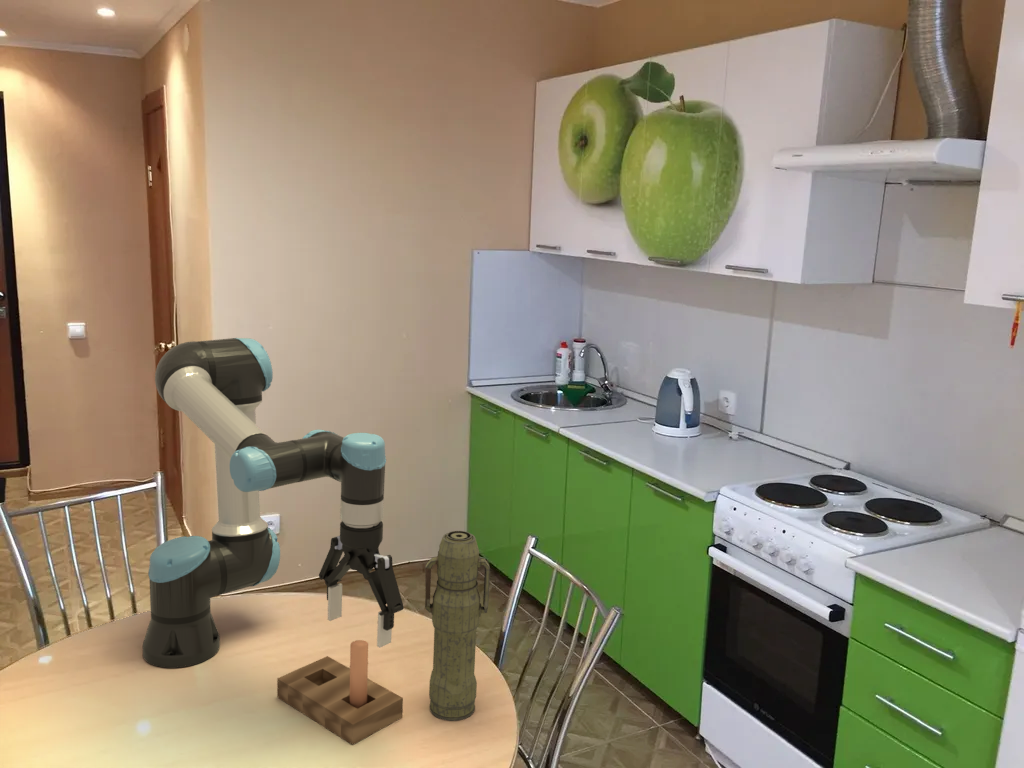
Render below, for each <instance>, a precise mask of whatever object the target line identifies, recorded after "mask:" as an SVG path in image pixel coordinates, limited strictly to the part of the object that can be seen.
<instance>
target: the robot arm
mask: <svg viewBox="0 0 1024 768" xmlns="http://www.w3.org/2000/svg"><path fill="white" fill-rule="evenodd" d="M154 373H155V374H154V383H155V387H156V390H157V393H158V395H159V396H160V398H161V399H162V400H163V402H165V404H167V406H168V407H170V408H171V409H173V410H175V411H178V412H181V413H183V414H184V415H185V416H186V417H187V418H188V419H189V420H190V421H191V422H193V424H194V425H195V426H196V427H197V428H198V429H199V430H201V432H202V433H203V434H204V435H206V437H207V438H208V439H209V440H210V441H211V442H212V443H213V444H214V455H215V473H216V491H217V494H216V495H217V514H218V520H217V522H216V523H215V524H214V525H213V526H212V527H211V540H208V539H207V538H206V537H204V536H201V535H190V536H187V535H186V536H179V537H175V538H171V539H169V540H167V541H165V542H163V543H161V544H159V545H158V546H156V547H155V548H154V550H153V551H152V552H151V553H150V556H149V567H148V571H147V572H148V578H149V581H148V582H149V596H150V597H149V599H150V600H149V601H150V605H149V606H150V621H149V624H148V626H147V631H146V632H145V637H144V640H143V642H142V657H143V659H144V661H146V662H147V664H148V663H149V664H150V665H152V666H155V667H160V668H166V669H168V668H170V669H172V668H173V669H174V668H175V669H176V668H186V667H190V666H194V665H198V664H200V663H203V662H205V661H208V660H210V659H211V658H212V657H214V656H215V655H216V654H217V653H218V651H220V647H221V646H220V645H221V644H220V643H221V641H220V632H219V631H218V628H217V625H216V623H215V620H214V618H213V615H212V612H211V599H212V598H215V597H217V596H221V595H224V594H228V593H231V592H235V591H238V590H243V589H246V588H249V587H250V588H251V587H255V586H257V585H259V584H261V583H265V582H267V581H269V580H270V579H272V578H273V576H275V574H276V573H277V570H278V569H279V566H280V561H281V546H280V542H278V536H277V534H276V533H275V531H274V530H272V529H271V528H270V527H269V524H268V522H267V521H265V520H264V519H263V518H262V517H261V505H260V492H264V491H266V490H269V489H274V488H278V487H283V486H287V485H292V484H296V483H303V482H305V481H306V482H307V481H312V480H317V479H321V478H326V477H327V478H330V479H333V480H335V481H337V482H339V483H340V506H339V507H340V509H339V510H340V511H339V519H340V520H341V521H340V523H339V535H337V536H334V537H332V538H331V539H330V547H329V550H328V552H327V554H326V558H325V559H324V562H323V564H322V567H321V568H320V571H319V573H318V578H319V579H320V580H323V581H324V584H325V586H326V600H327V620H328V621H330V622H331V621H334V620H337V619H338V618H339V619H340V618H342V616H343V612H342V611H343V609H342V608H343V583H340V582H342V581H343V577H345V575H346V574H347V573H348V572H349V570H353V571H357V572H358V573H359V574H361V575H362V576H363V579H365V580H367V583H368V585H370V588H371V590H372V593H373V595H374V597H375V599H376V602H377V604H378V606H379V608H380V611H378V612H377V629H376V631H377V634H376V635H377V637H376V646H377V648H380V649H381V648H383V647H385V646H387V645H389V644H391V643H392V629H393V628H394V626H395V614H396V613H398V612H402V611H403V610H404V608H405V607H404V603H403V600H402V596H401V593H400V589H399V585H398V582H397V578H396V575H395V572H394V568H393V567H394V565H393V556H392V555H391V554H386V555H381V554H380V550H379V549H380V548H379V547H380V545H381V544H382V542H383V539H384V538H383V537H384V535H383V534H384V523H383V520H384V519H383V518H384V503H385V502H384V501H385V498H384V496H385V481H386V480H385V478H386V474H385V473H386V472H385V471H386V463H387V457H386V443H385V440H384V438H383V437H382V436H380V435H378V434H375V433H369V432H353V433H349V434H347V435H346V436H341V435H340V434H338V433H335V432H332V431H330V430H323V429H314V430H311V431H309V432H308V433H306V434H305V435H304V436H303V437H302V438H300V439H299V438H298V439H292V440H286V441H280V442H275V440H274V439H272V438H271V437H270V436H269V435H267V433H265V431H264V430H262V429H261V428H260V427H259V426H258V425H257V419H256V417H257V416H256V409H257V408H258V406H260V405H261V403H262V402H263V392H265V391H266V390H269V388H270V387H271V385H272V382H273V376H274V375H273V374H274V373H273V366H272V362H271V358H270V356H269V353H267V350H266V349H265V348H264V346H263V345H262V344H261V343H260V342H259V341H257V340H256V339H253V338H248V337H246V338H245V337H244V338H242V337H241V338H239V337H231V338H230V337H229V338H221V339H220V338H219V339H210V340H201V341H193V340H192V341H186V342H183V343H179V344H177V345H174V346H173V347H171V348H169V350H168V351H166V352H165V353H164V354H163V356H161V358H160V359H159V362H158V363H157V366H156V369H155V372H154ZM343 554H344V555H343ZM342 555H343V557H342ZM341 557H342V558H341ZM372 570H373V571H372Z"/></svg>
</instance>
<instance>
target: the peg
mask: <svg viewBox="0 0 1024 768" xmlns="http://www.w3.org/2000/svg"><path fill="white" fill-rule="evenodd" d="M349 651H350V655H349V656H350V659H349V661H350V662H349V668H350V705H352V706H353V707H355V708H357V709H358V708H360V707H362V706H364V705H366V704H367V682H368V679H369V678H368V677H369V676H368V675H369V671H368V670H369V642H368V641H366V640H363V639H357V640H354V641H351V642H350V650H349Z"/></svg>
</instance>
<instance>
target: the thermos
mask: <svg viewBox="0 0 1024 768" xmlns="http://www.w3.org/2000/svg"><path fill="white" fill-rule="evenodd" d="M438 546H439V549H438V551H437V556H435V557H431V558H430V559H429V560H428V562H427V563H426V565H425V568H424V569H425V574H424V575H425V578H424V579H425V585H424V586H425V587H424V588H425V589H424V590H425V595H424V597H425V598H424V599H425V600H424V609H425V610H426V611H427V612H428V613H430V614H431V618H432V619H431V622H432V625H433V629H434V630H433V631H434V632H433V633H434V634H433V655H432V657H433V658H432V659H433V660H432V662H433V663H432V664H433V665H432V670H431V674H430V677H429V686H428V688H429V690H428V691H429V693H428V696H429V700H430V701H429V712H430V713H431V714H432V715H433V716H434V717H435V718H437V719H439V720H443V721H449V722H457V721H462V720H466V719H467V718H469V717H471V716H472V715H473V714H474V713H475V709H476V705H475V704H476V703H475V701H476V698H477V687H478V686H477V685H478V683H477V679H476V675H475V669H476V668H475V667H476V665H475V663H476V646H477V645H476V644H477V642H476V641H477V639H476V638H477V629H478V627H479V625H480V617H481V616H482V614H487V613H488V608H489V599H490V598H489V597H490V577H491V576H490V575H491V567H490V564H489V563H488V561H487V559H486V558H484V557H483V558H482V557H481V556H480V549H479V545H478V542H477V538H476V536H475V535H474V534H473V533H470V532H468V531H464V530H453V531H452V530H451V531H449V532H447V533H444V534H443V536H442V537H441V541H440V543H439V545H438ZM434 565H436V566H437V569H436V574H437V581H436V588H435V590H434V592H433V594H432V603H431V587H432V585H431V584H432V583H431V581H432V579H431V578H432V569H433V567H434ZM482 566H483V567H484V580H483V581H484V582H483V602H482V603H481V595H480V593H479V588H478V587H479V586H478V577H479V568H481V567H482ZM482 604H483V606H482Z"/></svg>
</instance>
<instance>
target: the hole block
mask: <svg viewBox="0 0 1024 768" xmlns="http://www.w3.org/2000/svg"><path fill="white" fill-rule="evenodd" d="M276 681H277V684H276V685H277V692H276V693H277V696H276V697H277V698H278V699H279V700H281V701H283V702H284V703H285V704H287V705H289V706H290V707H292V708H293V709H294V710H296V711H298V712H300V713H301V714H302V715H304V716H306V717H308V718H309V719H311V720H312V721H314V722H316V723H317V724H319V725H320V726H322V727H324V729H327V730H328V731H330V732H331V733H333V734H335V735H336V736H338V737H339V738H341V739H342V740H344V741H345V742H347V743H349V744H350V745H352V746H353V745H356V744H357V743H359V742H360V741H363V740H364V739H366V738H368V737H370V736H371V735H373V734H375V733H377V732H379V731H381V730H383V729H384V728H386V727H388V726H389V725H392V724H393V723H395V722H397V721H398V720H400V719H402V718H403V713H404V712H403V711H404V710H403V709H404V708H403V705H404V697H402V696H401V695H399V694H397V693H396V692H395V693H394V692H393V691H391V690H389V689H387V688H386V687H384V686H382V685H380V684H379V683H376V682H375V681H374V680H372V679H369V678H368V682H367V704H366V705H364V706H362V707H360V708H358V709H357V708H355V707H353V706H352V705H350V667H348V666H346V665H344V664H342V663H341V662H339V661H337V660H335V659H334V658H332V657H330V656H328V655H326V656H324V657H322V658H319V659H317V660H315V661H313V662H311V663H309V664H306V665H304V666H302V667H300V668H298V669H295V670H293V671H291V672H288V673H286V674H283V675H282V676H280V677H277V679H276Z"/></svg>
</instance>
